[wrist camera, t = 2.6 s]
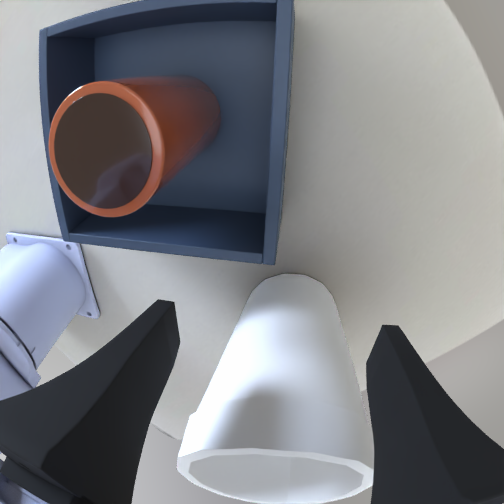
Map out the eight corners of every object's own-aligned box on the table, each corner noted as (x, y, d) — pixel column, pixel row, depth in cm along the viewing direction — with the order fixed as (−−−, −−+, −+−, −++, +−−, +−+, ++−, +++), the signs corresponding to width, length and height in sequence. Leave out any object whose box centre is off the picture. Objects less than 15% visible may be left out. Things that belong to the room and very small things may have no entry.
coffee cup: (140, 158, 18) (58, 215, 11) (137, 77, 15) (41, 93, 8) (220, 160, 17) (168, 223, 11) (222, 73, 15) (161, 73, 8)
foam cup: (334, 234, 19) (358, 433, 8) (368, 333, 23) (387, 493, 12) (203, 278, 23) (135, 446, 12) (259, 360, 26) (233, 505, 15)
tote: (103, 206, 21) (63, 241, 16) (92, 32, 14) (39, 30, 10) (281, 220, 19) (274, 266, 15) (294, 14, 13) (293, -10, 9)
